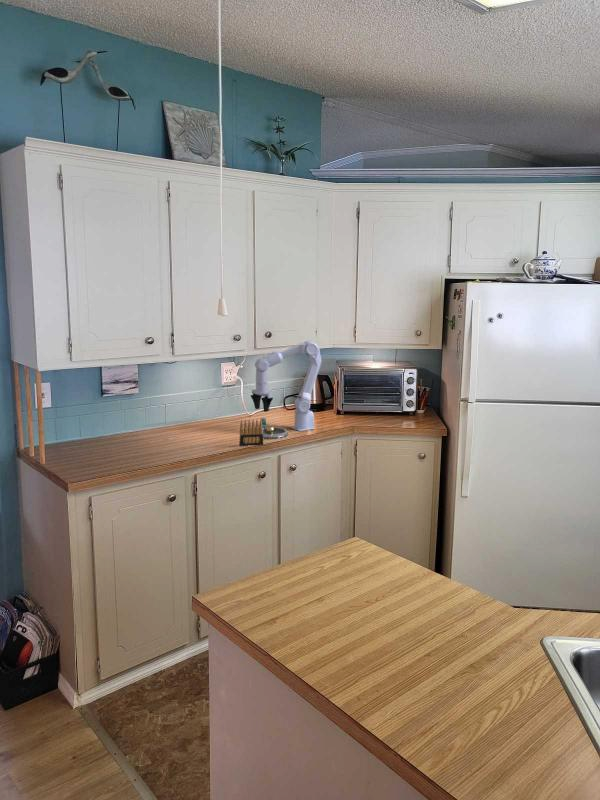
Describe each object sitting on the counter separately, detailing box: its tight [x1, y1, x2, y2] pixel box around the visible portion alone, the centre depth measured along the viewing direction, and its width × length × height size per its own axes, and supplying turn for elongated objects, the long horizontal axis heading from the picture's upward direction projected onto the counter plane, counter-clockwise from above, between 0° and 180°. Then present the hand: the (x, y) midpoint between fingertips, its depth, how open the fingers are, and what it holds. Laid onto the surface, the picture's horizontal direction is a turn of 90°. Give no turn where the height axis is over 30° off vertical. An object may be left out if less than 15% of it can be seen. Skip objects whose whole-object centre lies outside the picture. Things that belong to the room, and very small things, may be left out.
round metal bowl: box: [262, 426, 289, 440], centre depth 315 cm, size 17×17×4 cm
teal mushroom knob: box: [260, 417, 269, 427], centre depth 328 cm, size 4×4×5 cm
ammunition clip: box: [238, 418, 264, 447], centre depth 295 cm, size 11×2×12 cm, turn 106°
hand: (261, 410), depth 322 cm, fingers open, 7 cm apart
